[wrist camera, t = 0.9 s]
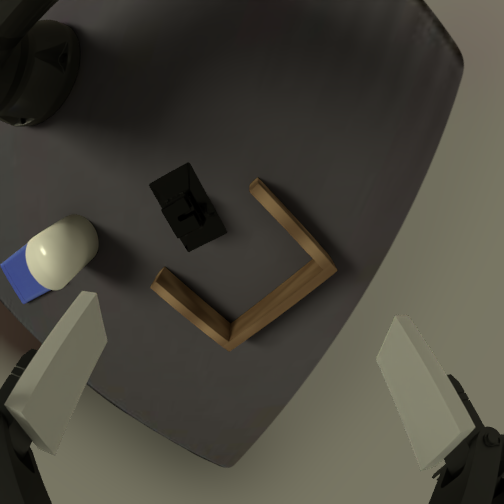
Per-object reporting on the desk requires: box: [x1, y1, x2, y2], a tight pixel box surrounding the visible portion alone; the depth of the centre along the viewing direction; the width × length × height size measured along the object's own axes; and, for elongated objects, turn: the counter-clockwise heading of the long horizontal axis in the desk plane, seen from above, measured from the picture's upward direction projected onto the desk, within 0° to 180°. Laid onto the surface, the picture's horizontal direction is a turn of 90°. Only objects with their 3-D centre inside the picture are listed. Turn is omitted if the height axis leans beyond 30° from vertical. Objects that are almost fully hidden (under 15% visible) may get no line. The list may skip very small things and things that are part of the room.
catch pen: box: [150, 177, 338, 351], centre depth 36 cm, size 13×17×4 cm
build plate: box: [149, 163, 227, 252], centre depth 33 cm, size 12×7×5 cm, turn 26°
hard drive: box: [1, 243, 50, 304], centre depth 38 cm, size 2×8×12 cm
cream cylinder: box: [26, 214, 99, 290], centre depth 32 cm, size 7×7×8 cm
